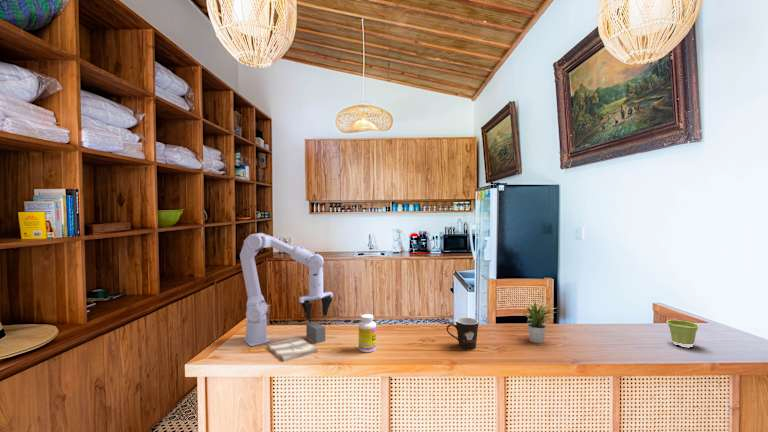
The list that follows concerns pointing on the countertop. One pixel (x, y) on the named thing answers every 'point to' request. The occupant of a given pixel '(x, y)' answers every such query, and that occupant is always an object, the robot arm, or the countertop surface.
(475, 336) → the coffee mug
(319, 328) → the block
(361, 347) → the supplement bottle
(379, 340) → the countertop surface
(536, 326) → the house plant
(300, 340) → the ash board
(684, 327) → the plant pot
